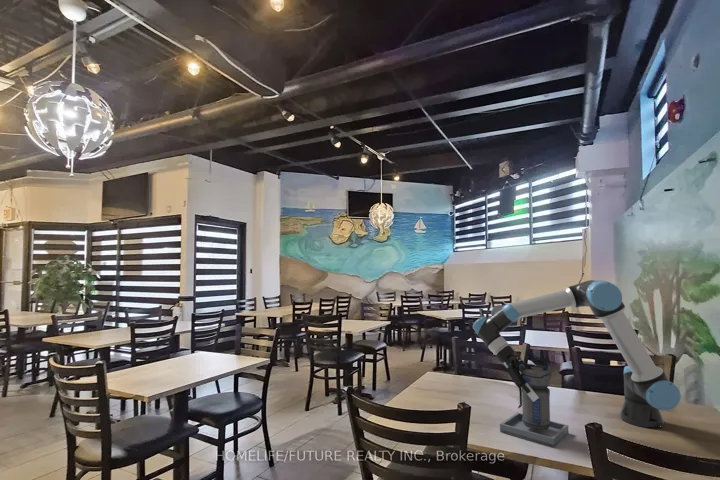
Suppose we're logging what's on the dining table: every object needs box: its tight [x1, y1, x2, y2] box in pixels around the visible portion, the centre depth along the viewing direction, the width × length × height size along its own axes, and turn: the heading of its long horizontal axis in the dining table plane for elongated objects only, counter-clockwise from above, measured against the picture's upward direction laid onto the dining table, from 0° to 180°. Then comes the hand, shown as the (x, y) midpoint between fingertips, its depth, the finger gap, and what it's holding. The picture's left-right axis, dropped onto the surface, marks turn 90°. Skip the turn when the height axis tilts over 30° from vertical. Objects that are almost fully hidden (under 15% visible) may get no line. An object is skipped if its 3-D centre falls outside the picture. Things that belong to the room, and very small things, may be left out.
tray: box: [499, 412, 569, 449], centre depth 158 cm, size 20×18×3 cm
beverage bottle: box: [515, 361, 552, 430], centre depth 159 cm, size 10×13×25 cm
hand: (541, 396), depth 157 cm, fingers closed on beverage bottle, 10 cm apart
